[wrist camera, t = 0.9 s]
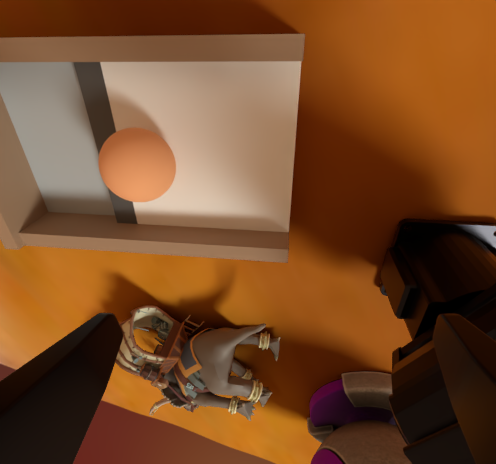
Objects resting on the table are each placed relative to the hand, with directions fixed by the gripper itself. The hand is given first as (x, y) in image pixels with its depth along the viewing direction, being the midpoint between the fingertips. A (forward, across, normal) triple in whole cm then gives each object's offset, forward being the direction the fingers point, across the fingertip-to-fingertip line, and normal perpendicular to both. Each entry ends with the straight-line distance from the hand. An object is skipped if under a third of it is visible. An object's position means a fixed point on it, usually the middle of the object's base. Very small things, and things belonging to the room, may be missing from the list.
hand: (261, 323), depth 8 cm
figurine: (+14, +11, +16) cm, 24 cm away
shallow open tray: (+13, +9, -2) cm, 16 cm away
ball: (+9, +8, -2) cm, 12 cm away
